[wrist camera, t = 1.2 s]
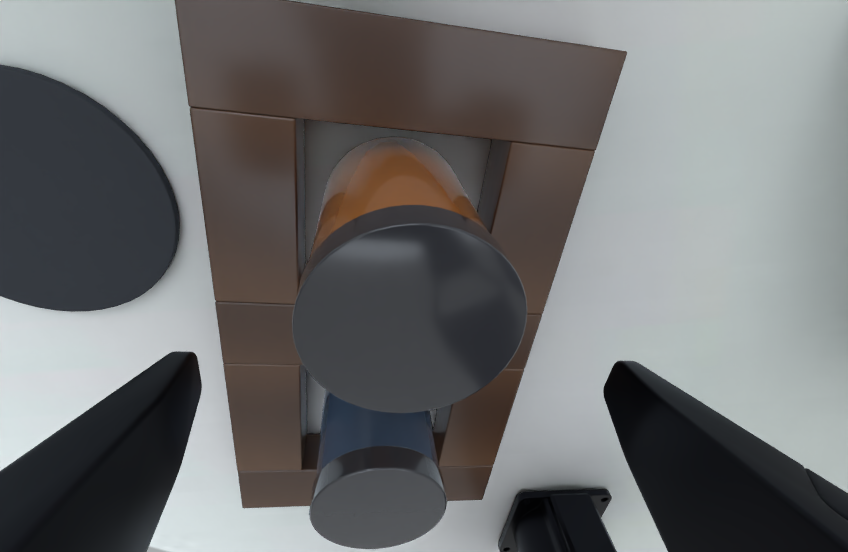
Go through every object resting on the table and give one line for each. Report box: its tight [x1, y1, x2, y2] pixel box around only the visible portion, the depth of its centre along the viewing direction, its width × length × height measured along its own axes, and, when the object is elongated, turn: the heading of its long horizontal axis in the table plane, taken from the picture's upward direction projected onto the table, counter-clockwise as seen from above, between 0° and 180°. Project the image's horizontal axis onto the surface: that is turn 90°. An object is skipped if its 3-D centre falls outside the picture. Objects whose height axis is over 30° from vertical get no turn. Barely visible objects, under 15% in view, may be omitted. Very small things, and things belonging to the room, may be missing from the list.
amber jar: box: [292, 137, 527, 413], centre depth 14 cm, size 6×6×8 cm
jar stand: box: [175, 0, 627, 508], centre depth 19 cm, size 23×13×2 cm, turn 173°
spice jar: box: [309, 389, 447, 549], centre depth 19 cm, size 5×5×6 cm
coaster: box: [0, 65, 179, 311], centre depth 15 cm, size 9×9×1 cm
